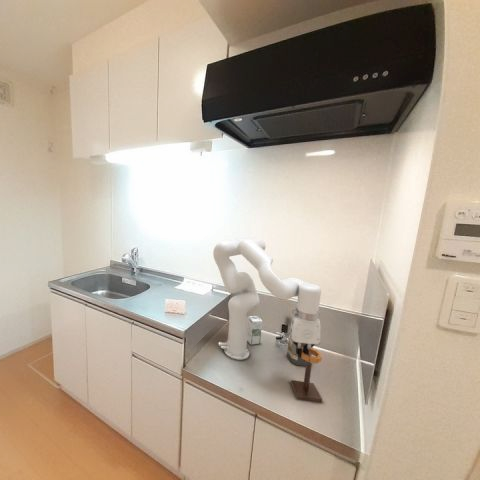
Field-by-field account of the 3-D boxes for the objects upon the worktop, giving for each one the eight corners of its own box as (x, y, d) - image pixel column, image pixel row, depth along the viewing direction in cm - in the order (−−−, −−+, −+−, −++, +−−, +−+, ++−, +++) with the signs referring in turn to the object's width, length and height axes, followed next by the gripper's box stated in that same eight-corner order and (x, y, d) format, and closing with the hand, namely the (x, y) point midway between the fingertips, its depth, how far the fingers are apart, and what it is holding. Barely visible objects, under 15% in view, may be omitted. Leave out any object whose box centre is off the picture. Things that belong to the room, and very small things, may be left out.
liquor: (303, 355, 131) (310, 301, 126) (312, 367, 122) (320, 309, 117) (285, 354, 132) (291, 300, 127) (292, 365, 123) (299, 308, 118)
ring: (303, 361, 101) (303, 357, 100) (296, 350, 108) (297, 346, 108) (324, 364, 99) (324, 359, 99) (316, 352, 107) (316, 348, 106)
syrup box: (254, 338, 146) (256, 315, 143) (260, 344, 140) (262, 320, 138) (245, 339, 145) (247, 315, 142) (250, 345, 139) (252, 321, 137)
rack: (297, 398, 103) (300, 369, 101) (290, 382, 112) (293, 355, 109) (321, 402, 102) (325, 372, 99) (312, 386, 110) (316, 358, 108)
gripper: (288, 316, 99) (283, 359, 102) (332, 320, 96) (326, 364, 99) (283, 308, 106) (279, 348, 109) (324, 312, 103) (319, 352, 106)
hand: (301, 355), depth 104 cm, fingers closed on ring, 1 cm apart
